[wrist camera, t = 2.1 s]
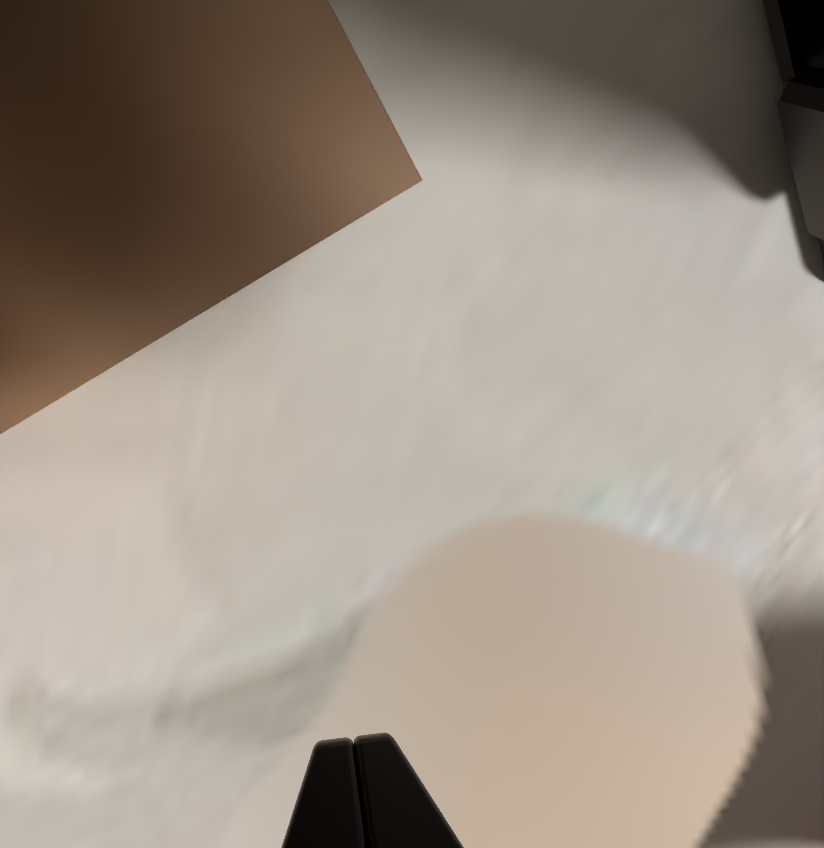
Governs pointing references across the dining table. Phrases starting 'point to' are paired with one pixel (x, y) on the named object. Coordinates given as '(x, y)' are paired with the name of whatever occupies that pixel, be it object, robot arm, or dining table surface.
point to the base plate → (167, 169)
